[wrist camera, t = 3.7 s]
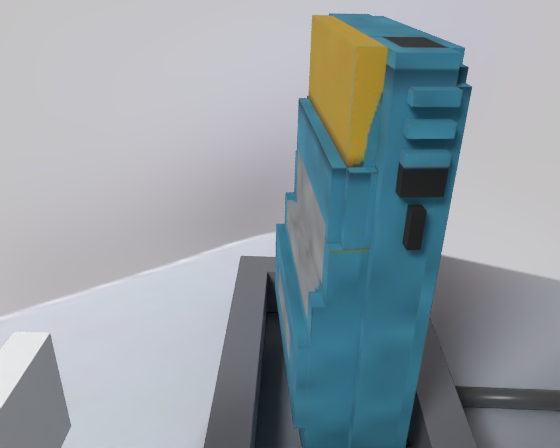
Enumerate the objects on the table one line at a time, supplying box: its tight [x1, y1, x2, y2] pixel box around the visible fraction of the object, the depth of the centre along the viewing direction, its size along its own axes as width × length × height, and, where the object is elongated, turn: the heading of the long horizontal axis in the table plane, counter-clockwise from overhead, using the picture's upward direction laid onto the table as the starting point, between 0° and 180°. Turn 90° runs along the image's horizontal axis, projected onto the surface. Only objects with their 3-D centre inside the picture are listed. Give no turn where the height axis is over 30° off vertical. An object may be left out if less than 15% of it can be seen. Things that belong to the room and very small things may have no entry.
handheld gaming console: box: [275, 14, 472, 448], centre depth 19 cm, size 10×4×15 cm, turn 5°
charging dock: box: [204, 256, 560, 448], centre depth 22 cm, size 18×15×2 cm
